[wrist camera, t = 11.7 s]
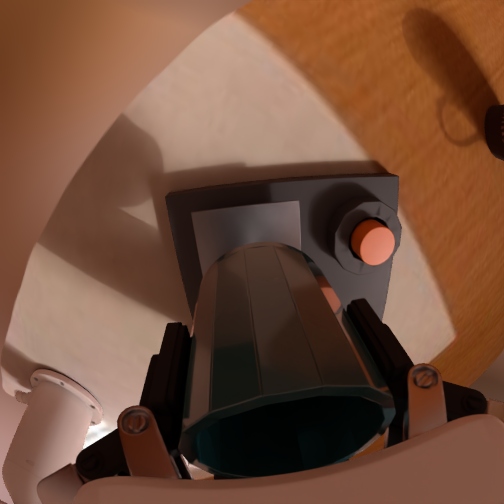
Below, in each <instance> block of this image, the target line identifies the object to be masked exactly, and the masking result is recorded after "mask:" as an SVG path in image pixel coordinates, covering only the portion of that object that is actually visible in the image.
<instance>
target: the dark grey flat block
mask: <svg viewBox="0 0 504 504" xmlns="http://www.w3.org/2000/svg"><path fill="white" fill-rule="evenodd" d="M398 191H399V176H397V175H394V174H391V173H372V174H342V175H322V176H307V177H293V178H281V179H270V180H260V181H251V182H242V183H233V184H225V185H217V186H210V187H202V188H195V189H189V190H182V191H176V192H170V193H168V194H167V195H166V196H165V199H166V204H167V210H168V215H169V220H170V225H171V230H172V235H173V240H174V245H175V249H176V254H177V258H178V263H179V267H180V271H181V276H182V280H183V284H184V288H185V292H186V296H187V300H188V304H189V308H190V311H191V315H192V319H193V318H194V312H195V306H196V301H197V297H198V292H199V287H200V284H201V281H202V279H203V274H202V269H201V264H200V259H199V254H198V249H197V243H196V238H195V232H194V227H193V221H192V215H191V212H196V211H203V210H211V209H218V208H226V207H234V206H243V205H251V204H260V203H270V202H279V201H289V200H299V208H300V234H301V251H302V252H304V253H305V254H307V255H308V256H309V257H310V258H311V259H312V260H313V261H314V262H315V264H316V265H317V266H318V267H319V268H320V269H321V271H322V272H323V274H324V275H325V277H326V279H327V280H328V282H329V284H330V285H331V287H332V289H333V290H334V292H335V294H336V295H337V297H338V299H339V300H340V302H341V304H342V305H343V307H344V309H345V310H346V309H347V305H348V304H350V303H351V301H352V300H355V299H360V298H365V299H366V300H367V301H368V303H369V304H370V306H371V307H372V308H373V310H374V311H375V313H376V314H377V316H378V317H379V318H380V320H381V321H382V318H383V314H384V309H385V304H386V298H387V293H388V287H389V281H390V274H391V268H392V260H393V256H394V254H395V252H396V251H397V249H398V247H399V245H400V238H401V229H402V227H401V224H400V221H399V219H398V217H397V210H398ZM368 219H373V220H376V221H378V222H379V223H381V224H382V225H384V226H385V227H387V228H388V229H390V230H391V232H392V233H393V235H394V239H395V246H394V249H393V252H392V254H391V255H390V257H389V258H388V259H387V260H386V261H385V262H383V263H381V264H379V265H369V264H366V263H365V262H364V261H363V260H362V259H361V258H360V257H359V256H358V255H357V254H356V253H355V252H354V251H353V249H352V247H351V235H352V232H353V230H354V229H355V227H356V226H357V225H358V224H359V223H361V222H362V221H364V220H368Z"/></svg>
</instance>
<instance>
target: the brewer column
mask: <svg viewBox="0 0 504 504" xmlns="http://www.w3.org/2000/svg"><path fill="white" fill-rule="evenodd" d="M191 215H192V221H193V227H194V232H195V238H196V243H197V249H198V254H199V259H200V264H201V269H202V274H203V277H204V275H205V273H206V272H207V270H208V269H209V267H210V266H211V265H212V264H213V263H214V262H215V261H216V260H217V259H219V258H220V257H221V256H222V255H224V254H225V253H227V252H229V251H230V250H232V249H235V248H237V247H239V246H243V245H246V244H250V243H255V242H277V243H282V244H286V245H289V246H292V247H295V248H297V249H299V250H301V234H300V208H299V200H289V201H279V202H270V203H260V204H251V205H243V206H234V207H226V208H218V209H211V210H203V211H196V212H191ZM348 460H349V459H347V460H345V461H348ZM343 462H344V461H343ZM226 479H234V478H229V477H223V476H219V475H214V480H226Z"/></svg>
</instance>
